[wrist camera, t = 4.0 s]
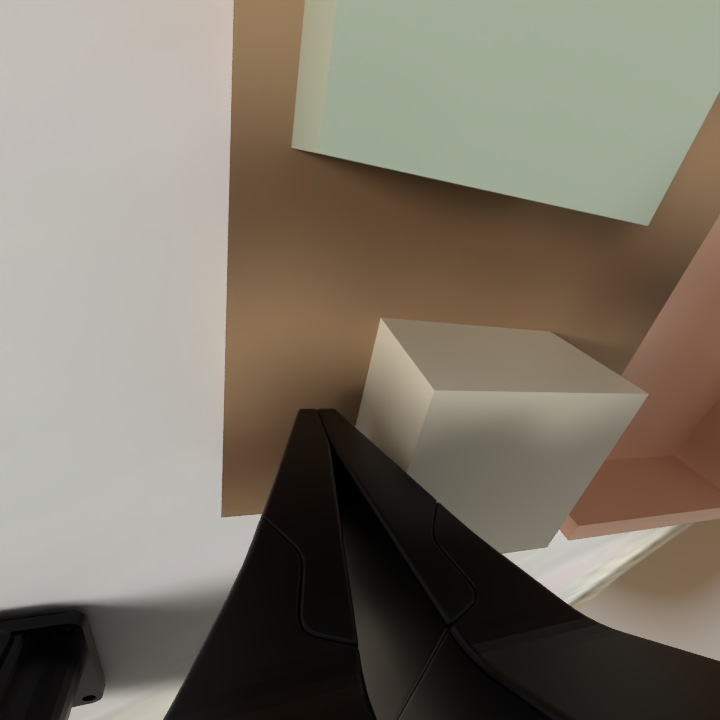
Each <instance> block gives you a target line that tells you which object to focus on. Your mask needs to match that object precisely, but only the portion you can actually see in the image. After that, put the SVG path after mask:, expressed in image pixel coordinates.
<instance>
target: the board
mask: <svg viewBox="0 0 720 720" xmlns="http://www.w3.org/2000/svg"><path fill="white" fill-rule="evenodd" d="M304 5H305V0H234V20H233V61H232V102H231V143H230V184H229V225H228V266H227V308H226V349H225V390H224V431H223V472H222V513H221V517H231V516H242V515H254V514H262V512H263V510H264V507H265V504H266V501H267V498H268V495H269V492H270V490H271V487H272V484H273V481H274V478H275V475H276V473H277V470H278V467H279V464H280V461H281V458H282V455H283V453H284V450H285V447H286V444H287V441H288V438H289V435H290V433H291V430H292V427H293V424H294V421H295V418H296V416H297V413H298V410H299V409H308V408H314V409H316V410H317V409H319V408H334V409H336V410H337V411H338V412H339V413H340V414H341V415H342V416H344V417H345V418H346V419H347V420H348V421H349V422H350V423H351V424H352V425H354V426H356V422H357V417H358V413H359V409H360V404H361V400H362V396H363V392H364V387H365V383H366V379H367V374H368V370H369V366H370V361H371V357H372V353H373V348H374V344H375V340H376V336H377V331H378V327H379V323H380V318H392V319H404V320H416V321H428V322H441V323H453V324H465V325H477V326H490V327H502V328H514V329H526V330H538V331H550V332H552V333H554V334H555V335H557V336H558V337H560V338H561V339H563V340H565V341H566V342H568V343H569V344H571V345H573V346H574V347H576V348H577V349H579V350H580V351H582V352H584V353H585V354H587V355H588V356H590V357H591V358H593V359H595V360H596V361H598V362H599V363H601V364H602V365H604V366H606V367H607V368H609V369H610V370H612V371H613V372H615V373H617V374H618V375H620V376H621V375H622V374H623V372H624V370H625V369H626V367H627V366H628V364H629V362H630V361H631V359H632V357H633V356H634V354H635V353H636V351H637V349H638V348H639V346H640V344H641V343H642V341H643V339H644V338H645V336H646V335H647V333H648V331H649V330H650V328H651V326H652V325H653V323H654V321H655V320H656V318H657V317H658V315H659V313H660V312H661V310H662V308H663V307H664V305H665V303H666V302H667V300H668V299H669V297H670V295H671V294H672V292H673V290H674V289H675V287H676V285H677V284H678V282H679V281H680V279H681V277H682V276H683V274H684V272H685V271H686V269H687V267H688V266H689V264H690V263H691V261H692V259H693V258H694V256H695V254H696V253H697V251H698V249H699V248H700V246H701V245H702V243H703V241H704V240H705V238H706V236H707V235H708V233H709V232H710V230H711V228H712V227H713V225H714V223H715V222H716V220H717V218H718V217H719V215H720V92H719V94H718V96H717V97H716V99H715V101H714V103H713V105H712V107H711V109H710V111H709V112H708V114H707V116H706V118H705V120H704V122H703V124H702V126H701V127H700V129H699V131H698V133H697V135H696V137H695V139H694V141H693V143H692V144H691V146H690V148H689V150H688V152H687V154H686V156H685V158H684V159H683V161H682V163H681V165H680V167H679V169H678V171H677V173H676V174H675V176H674V178H673V180H672V182H671V184H670V186H669V188H668V189H667V191H666V193H665V195H664V197H663V199H662V201H661V203H660V204H659V206H658V208H657V210H656V212H655V214H654V216H653V218H652V219H651V221H650V223H649V225H648V226H646V225H641V224H636V223H632V222H627V221H623V220H618V219H613V218H609V217H604V216H600V215H595V214H590V213H586V212H581V211H577V210H572V209H567V208H563V207H558V206H554V205H549V204H544V203H540V202H535V201H530V200H526V199H521V198H517V197H512V196H508V195H503V194H499V193H494V192H489V191H485V190H480V189H476V188H471V187H467V186H462V185H458V184H453V183H449V182H444V181H440V180H435V179H430V178H426V177H421V176H417V175H412V174H408V173H403V172H399V171H394V170H390V169H385V168H380V167H376V166H371V165H367V164H362V163H358V162H353V161H349V160H344V159H340V158H335V157H330V156H326V155H321V154H317V153H312V152H308V151H303V150H299V149H294V148H291V146H292V135H293V125H294V114H295V103H296V92H297V81H298V70H299V59H300V48H301V37H302V27H303V16H304Z"/></svg>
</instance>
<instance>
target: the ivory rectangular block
mask: <svg viewBox="0 0 720 720" xmlns="http://www.w3.org/2000/svg"><path fill="white" fill-rule="evenodd" d="M648 395H649V394H648V393H646V392H645V391H643V390H642V389H640V388H639V387H637V386H635V385H634V384H632V383H631V382H629V381H628V380H626V379H624V378H623V377H621V376H620V375H618V374H617V373H615V372H613V371H612V370H610V369H609V368H607V367H606V366H604V365H602V364H601V363H599V362H598V361H596V360H595V359H593V358H591V357H590V356H588V355H587V354H585V353H584V352H582V351H580V350H579V349H577V348H576V347H574V346H573V345H571V344H569V343H568V342H566V341H565V340H563V339H561V338H560V337H558V336H557V335H555V334H554V333H552V332H550V331H538V330H526V329H514V328H502V327H490V326H477V325H465V324H453V323H441V322H428V321H416V320H404V319H392V318H380V323H379V327H378V331H377V336H376V340H375V344H374V348H373V353H372V357H371V361H370V366H369V370H368V374H367V379H366V383H365V387H364V392H363V396H362V400H361V404H360V409H359V413H358V417H357V422H356V426H355V427H356V428H357V429H358V430H359V431H360V432H361V433H363V434H364V435H365V436H366V437H367V438H368V439H369V440H370V441H371V442H373V443H374V444H375V445H376V446H377V447H378V448H379V449H380V450H381V451H383V452H384V453H385V454H386V455H387V456H388V457H389V458H390V459H392V460H393V461H394V462H395V463H396V464H397V465H398V466H399V467H400V468H402V469H403V470H404V471H405V472H406V473H407V474H408V475H409V476H410V477H412V478H413V479H414V480H415V481H416V482H417V483H418V484H419V485H421V486H422V487H423V488H424V489H425V490H426V491H427V492H428V493H429V494H431V495H432V496H433V497H434V498H435V499H436V500H437V503H438V502H439V503H441V504H442V505H443V506H444V507H445V508H446V509H447V510H449V511H450V512H451V513H452V514H453V515H454V516H455V517H457V518H458V519H459V520H460V521H461V522H462V523H464V524H465V525H466V526H467V527H468V528H469V529H471V530H472V531H473V532H474V533H475V534H477V535H478V536H479V537H480V538H482V539H483V540H484V541H485V542H487V543H488V544H489V545H490V546H492V547H493V548H494V549H496V550H497V551H498V552H499V553H501V554H503V553H510V552H517V551H524V550H531V549H537V548H544V547H547V546H548V545H549V543H550V542H551V540H552V539H553V537H554V536H555V534H556V533H557V531H558V530H559V528H560V527H561V525H562V524H563V522H564V521H565V519H566V518H567V516H568V515H569V513H570V512H571V510H572V509H573V507H574V506H575V504H576V503H577V501H578V500H579V498H580V497H581V495H582V494H583V492H584V491H585V489H586V488H587V486H588V485H589V483H590V482H591V480H592V479H593V477H594V476H595V474H596V473H597V471H598V470H599V468H600V467H601V465H602V464H603V462H604V461H605V459H606V458H607V456H608V455H609V453H610V452H611V450H612V449H613V447H614V446H615V444H616V443H617V441H618V440H619V438H620V437H621V435H622V434H623V432H624V431H625V429H626V428H627V426H628V425H629V423H630V422H631V420H632V419H633V417H634V416H635V414H636V413H637V411H638V410H639V408H640V407H641V405H642V404H643V402H644V401H645V399H646V398H647V396H648ZM437 503H436V504H437Z"/></svg>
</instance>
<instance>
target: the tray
mask: <svg viewBox="0 0 720 720" xmlns="http://www.w3.org/2000/svg"><path fill="white" fill-rule="evenodd" d="M621 377H623V378H624V379H626V380H628V381H629V382H631V383H632V384H634V385H635V386H637V387H639V388H640V389H642V390H643V391H645V392H646V393H648V394H649V395H648V396H647V398H646V399H645V401H644V402H643V404H642V405H641V407H640V408H639V410H638V411H637V413H636V414H635V416H634V417H633V419H632V420H631V422H630V423H629V425H628V426H627V428H626V429H625V431H624V432H623V434H622V435H621V437H620V438H619V440H618V441H617V443H616V444H615V446H614V447H613V449H612V450H611V452H610V453H609V455H608V456H607V458H606V459H605V461H604V462H603V464H602V465H601V467H600V468H599V470H598V471H597V473H596V474H595V476H594V477H593V479H592V480H591V482H590V483H589V485H588V486H587V488H586V489H585V491H584V492H583V494H582V495H581V497H580V498H579V500H578V501H577V503H576V504H575V506H574V507H573V509H572V510H571V512H570V513H569V515H568V516H567V518H566V519H565V521H564V522H563V524H562V525H561V527H560V528H559V529H560V531H561V532H562V533H563V534H564V536H565V537H566V538H567V539H568V540H575V539H582V538H589V537H596V536H603V535H610V534H617V533H623V532H630V531H637V530H644V529H651V528H658V527H665V526H672V525H679V524H686V523H693V522H700V521H707V520H714V519H720V215H719V217H718V218H717V220H716V222H715V223H714V225H713V227H712V228H711V230H710V232H709V233H708V235H707V236H706V238H705V240H704V241H703V243H702V245H701V246H700V248H699V249H698V251H697V253H696V254H695V256H694V258H693V259H692V261H691V263H690V264H689V266H688V267H687V269H686V271H685V272H684V274H683V276H682V277H681V279H680V281H679V282H678V284H677V285H676V287H675V289H674V290H673V292H672V294H671V295H670V297H669V299H668V300H667V302H666V303H665V305H664V307H663V308H662V310H661V312H660V313H659V315H658V317H657V318H656V320H655V321H654V323H653V325H652V326H651V328H650V330H649V331H648V333H647V335H646V336H645V338H644V339H643V341H642V343H641V344H640V346H639V348H638V349H637V351H636V353H635V354H634V356H633V357H632V359H631V361H630V362H629V364H628V366H627V367H626V369H625V370H624V372H623V374H622V375H621Z"/></svg>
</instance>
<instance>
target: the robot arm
mask: <svg viewBox="0 0 720 720" xmlns="http://www.w3.org/2000/svg"><path fill="white" fill-rule="evenodd" d="M436 503H437V500H436V499H435V498H434V497H433V496H432V495H431V494H429V493H428V492H427V491H426V490H425V489H424V488H423V487H422V486H421V485H419V484H418V483H417V482H416V481H415V480H414V479H413V478H412V477H410V476H409V475H408V474H407V473H406V472H405V471H404V470H403V469H402V468H400V467H399V466H398V465H397V464H396V463H395V462H394V461H393V460H392V459H390V458H389V457H388V456H387V455H386V454H385V453H384V452H383V451H381V450H380V449H379V448H378V447H377V446H376V445H375V444H374V443H373V442H371V441H370V440H369V439H368V438H367V437H366V436H365V435H364V434H363V433H361V432H360V431H359V430H358V429H357V428H356V427H355V426H354V425H352V424H351V423H350V422H349V421H348V420H347V419H346V418H345V417H344V416H342V415H341V414H340V413H339V412H338V411H337V410H336V409H334V408H319V409H317V410H316V409H314V408H308V409H299V410H298V413H297V416H296V418H295V421H294V424H293V427H292V430H291V433H290V435H289V438H288V441H287V444H286V447H285V450H284V453H283V455H282V458H281V461H280V464H279V467H278V470H277V473H276V475H275V478H274V481H273V484H272V487H271V490H270V492H269V495H268V498H267V501H266V504H265V507H264V510H263V512H262V515H261V519H260V521H259V523H258V526H257V529H256V532H255V535H254V537H253V540H252V543H251V545H250V548H249V550H248V553H247V555H246V558H245V560H244V563H243V565H242V567H241V570H240V572H239V574H238V576H237V578H236V580H235V582H234V584H233V586H232V589H231V591H230V593H229V595H228V597H227V599H226V601H225V603H224V605H223V607H222V609H221V611H220V613H219V615H218V617H217V619H216V621H215V622H214V624H213V626H212V628H211V630H210V632H209V634H208V636H207V638H206V640H205V642H204V644H203V646H202V648H201V650H200V652H199V654H198V656H197V657H196V659H195V661H194V663H193V665H192V667H191V669H190V671H189V673H188V675H187V677H186V679H185V681H184V683H183V685H182V687H181V688H180V690H179V692H178V694H177V696H176V698H175V699H174V701H173V703H172V705H171V707H170V708H169V710H168V712H167V714H166V715H165V717H164V719H163V720H720V661H717V660H714V659H711V658H707V657H704V656H701V655H697V654H694V653H691V652H687V651H684V650H681V649H677V648H674V647H670V646H667V645H664V644H661V643H657V642H654V641H651V640H647V639H644V638H640V637H637V636H634V635H631V634H627V633H624V632H621V631H618V630H615V629H612V628H610V627H607V626H605V625H603V624H600V623H598V622H596V621H594V620H593V619H590V618H589V617H587V616H585V615H583V614H582V613H580V612H579V611H577V610H575V609H574V608H573V607H571V606H570V605H568V604H567V603H565V602H564V601H563V600H561V599H560V598H559V597H557V596H556V595H555V594H553V593H552V592H551V591H549V590H548V589H547V588H545V587H544V586H543V585H542V584H540V583H539V582H538V581H536V580H535V579H534V578H532V577H531V576H530V575H528V574H527V573H526V572H524V571H523V570H522V569H520V568H519V567H518V566H516V565H515V564H514V563H513V562H511V561H510V560H509V559H507V558H506V557H505V556H503V555H502V554H501V553H499V552H498V551H497V550H496V549H494V548H493V547H492V546H490V545H489V544H488V543H487V542H485V541H484V540H483V539H482V538H480V537H479V536H478V535H477V534H475V533H474V532H473V531H472V530H471V529H469V528H468V527H467V526H466V525H465V524H464V523H462V522H461V521H460V520H459V519H458V518H457V517H455V516H454V515H453V514H452V513H451V512H450V511H449V510H447V509H446V508H445V507H444V506H443V505H442V504H441V503H439V502H438V503H437V504H436ZM104 688H105V681H104V677H103V674H102V670H101V666H100V663H99V659H98V656H97V652H96V649H95V645H94V642H93V638H92V634H91V631H90V627H89V624H88V620H87V617H86V616H85V614H83V613H81V612H65V613H58V614H51V615H44V616H37V617H30V618H23V619H16V620H9V621H2V622H0V720H68V718H69V715H70V711H71V708H72V707H75V706H80V705H85V704H90V703H93V702H96V701H98V700H100V699H101V698H102V696H103V692H104Z"/></svg>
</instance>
